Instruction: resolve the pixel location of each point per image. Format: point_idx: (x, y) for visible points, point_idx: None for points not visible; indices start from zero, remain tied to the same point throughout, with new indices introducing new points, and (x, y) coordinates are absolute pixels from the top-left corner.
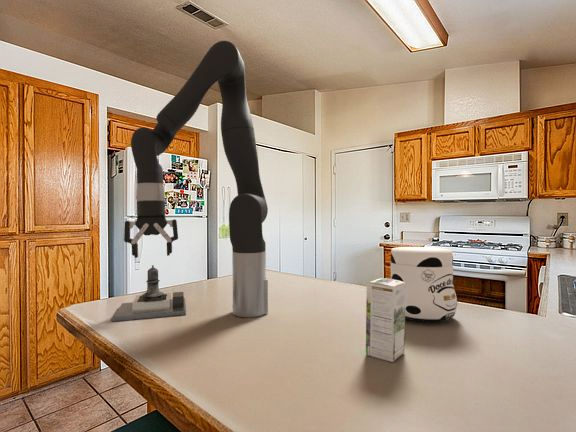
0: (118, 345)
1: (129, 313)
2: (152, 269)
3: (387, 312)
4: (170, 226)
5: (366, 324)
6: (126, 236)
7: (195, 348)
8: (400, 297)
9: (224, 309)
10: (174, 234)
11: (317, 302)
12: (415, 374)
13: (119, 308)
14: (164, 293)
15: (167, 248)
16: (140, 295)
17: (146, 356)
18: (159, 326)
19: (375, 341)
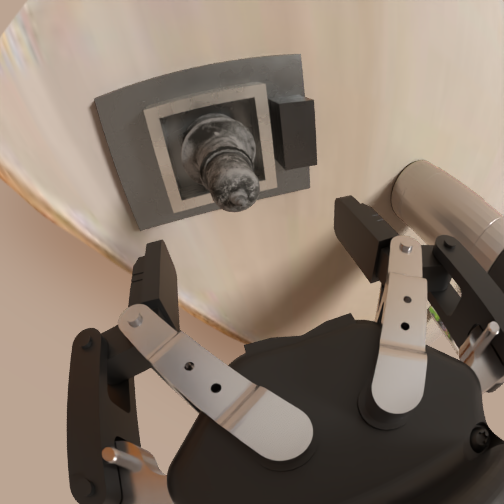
0: (214, 319)
1: (167, 205)
2: (240, 209)
3: (448, 340)
4: (459, 352)
5: (441, 326)
6: (120, 400)
7: (314, 317)
8: None
9: (385, 155)
10: (439, 307)
11: (495, 154)
12: (427, 324)
13: (114, 158)
14: (243, 87)
15: (356, 259)
16: (158, 111)
17: (261, 337)
18: (257, 252)
19: (435, 320)
